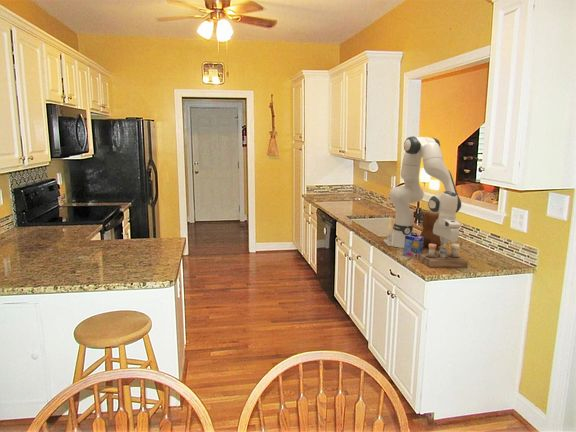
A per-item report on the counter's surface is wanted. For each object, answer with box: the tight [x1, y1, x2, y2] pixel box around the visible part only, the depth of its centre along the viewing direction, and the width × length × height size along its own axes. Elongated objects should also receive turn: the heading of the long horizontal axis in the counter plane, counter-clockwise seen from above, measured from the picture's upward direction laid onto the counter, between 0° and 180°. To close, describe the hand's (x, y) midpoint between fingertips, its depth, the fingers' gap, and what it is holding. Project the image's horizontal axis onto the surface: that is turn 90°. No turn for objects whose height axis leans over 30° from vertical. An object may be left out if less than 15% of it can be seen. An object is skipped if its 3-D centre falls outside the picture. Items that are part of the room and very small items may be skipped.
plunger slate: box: [439, 247, 448, 258], centre depth 240 cm, size 4×4×7 cm
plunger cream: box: [450, 243, 460, 257], centre depth 241 cm, size 4×4×7 cm
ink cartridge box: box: [403, 231, 424, 259], centre depth 255 cm, size 10×6×14 cm, turn 51°
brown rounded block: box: [419, 209, 442, 249], centre depth 277 cm, size 14×13×25 cm
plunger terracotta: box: [427, 243, 437, 257], centre depth 239 cm, size 4×4×7 cm
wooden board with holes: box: [417, 253, 469, 269], centre depth 241 cm, size 14×22×4 cm, turn 101°
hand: (443, 245), depth 240 cm, fingers closed
